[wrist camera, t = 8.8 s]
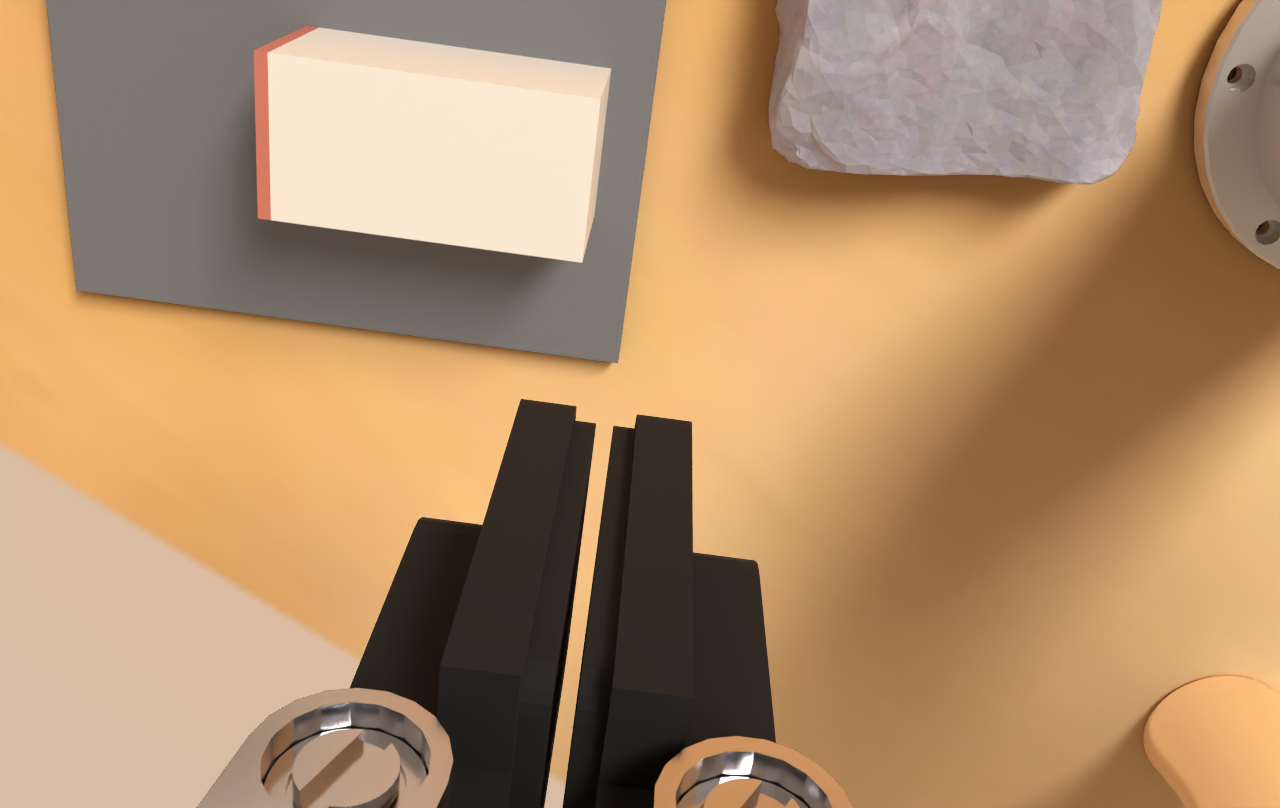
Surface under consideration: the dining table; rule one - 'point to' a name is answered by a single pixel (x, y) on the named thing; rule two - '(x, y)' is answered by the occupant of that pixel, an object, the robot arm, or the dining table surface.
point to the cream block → (429, 142)
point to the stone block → (961, 86)
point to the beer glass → (1218, 743)
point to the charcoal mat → (316, 256)
